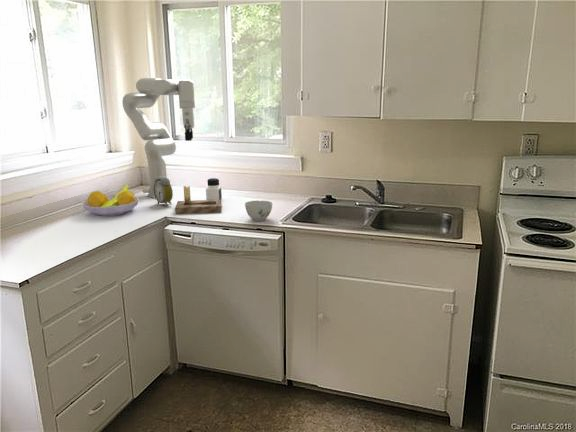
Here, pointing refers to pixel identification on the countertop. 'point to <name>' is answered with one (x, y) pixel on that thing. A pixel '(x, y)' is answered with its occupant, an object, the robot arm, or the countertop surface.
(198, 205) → the keyhole plate
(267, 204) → the teacup
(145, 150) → the robot arm
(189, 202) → the peg
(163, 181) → the alarm clock
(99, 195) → the fruit bowl
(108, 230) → the countertop surface
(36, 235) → the countertop surface
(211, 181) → the medicine bottle
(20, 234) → the countertop surface
